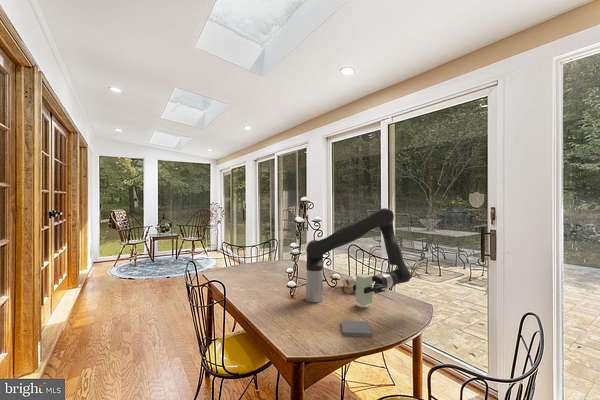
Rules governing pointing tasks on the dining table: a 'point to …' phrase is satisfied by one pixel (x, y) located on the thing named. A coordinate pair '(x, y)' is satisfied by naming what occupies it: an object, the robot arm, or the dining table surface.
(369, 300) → the block
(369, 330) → the coaster
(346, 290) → the die frame
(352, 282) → the die
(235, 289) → the dining table surface
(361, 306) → the white cup
